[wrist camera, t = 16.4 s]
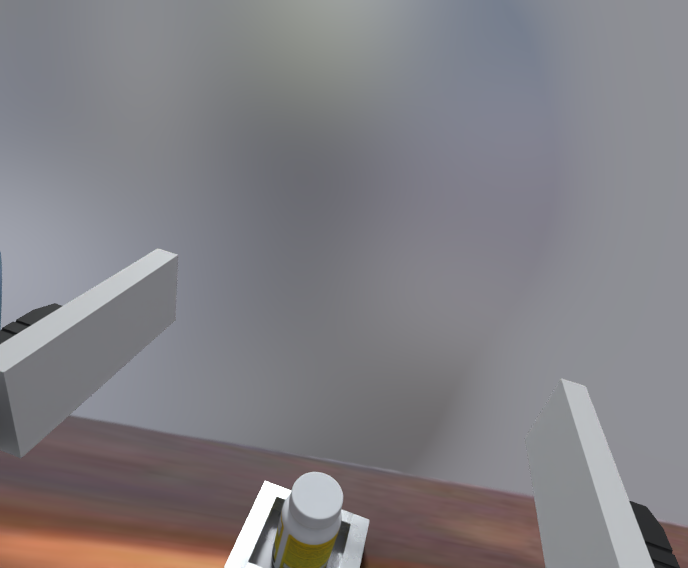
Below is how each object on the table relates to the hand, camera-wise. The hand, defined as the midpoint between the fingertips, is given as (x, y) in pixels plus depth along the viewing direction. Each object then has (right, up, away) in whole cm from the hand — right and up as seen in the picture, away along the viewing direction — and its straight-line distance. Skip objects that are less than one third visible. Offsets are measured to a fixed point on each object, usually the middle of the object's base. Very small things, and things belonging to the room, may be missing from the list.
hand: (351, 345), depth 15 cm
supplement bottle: (-4, -21, +23) cm, 31 cm away
